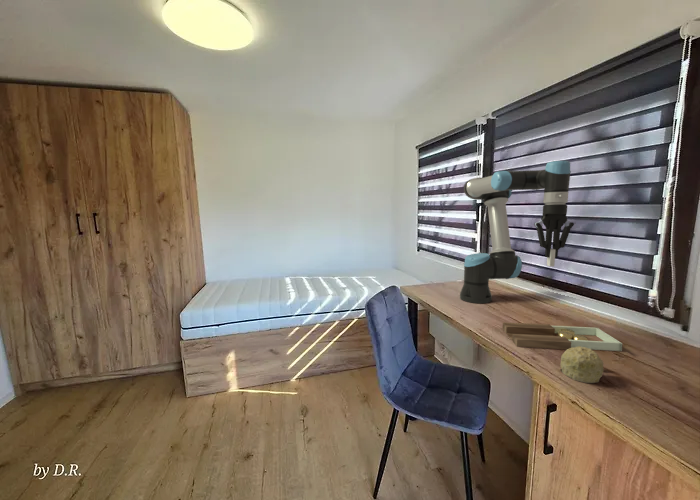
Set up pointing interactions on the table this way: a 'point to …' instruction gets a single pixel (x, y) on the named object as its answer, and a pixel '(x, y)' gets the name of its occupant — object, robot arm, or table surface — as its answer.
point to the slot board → (535, 336)
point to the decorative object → (582, 364)
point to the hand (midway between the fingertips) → (550, 265)
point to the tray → (595, 345)
